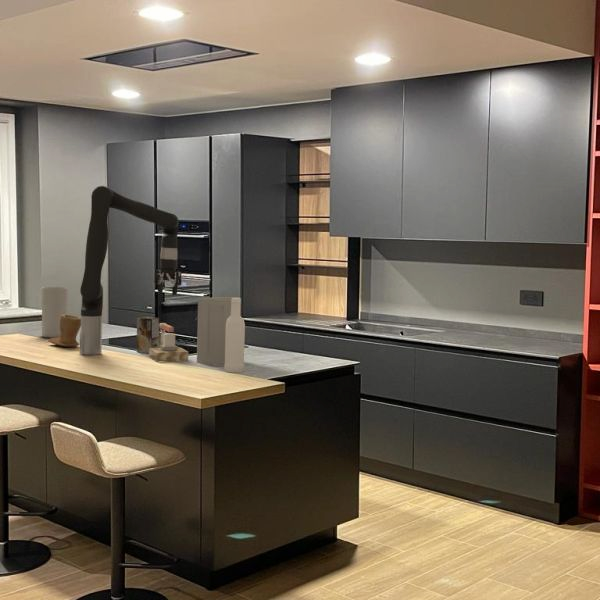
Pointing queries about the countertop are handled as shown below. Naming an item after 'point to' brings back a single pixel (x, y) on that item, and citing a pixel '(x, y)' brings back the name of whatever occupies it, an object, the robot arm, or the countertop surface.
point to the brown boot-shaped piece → (67, 331)
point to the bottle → (234, 339)
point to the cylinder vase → (53, 310)
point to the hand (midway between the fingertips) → (167, 294)
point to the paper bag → (212, 329)
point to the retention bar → (166, 327)
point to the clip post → (162, 336)
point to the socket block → (168, 355)
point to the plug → (168, 343)
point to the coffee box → (148, 333)
